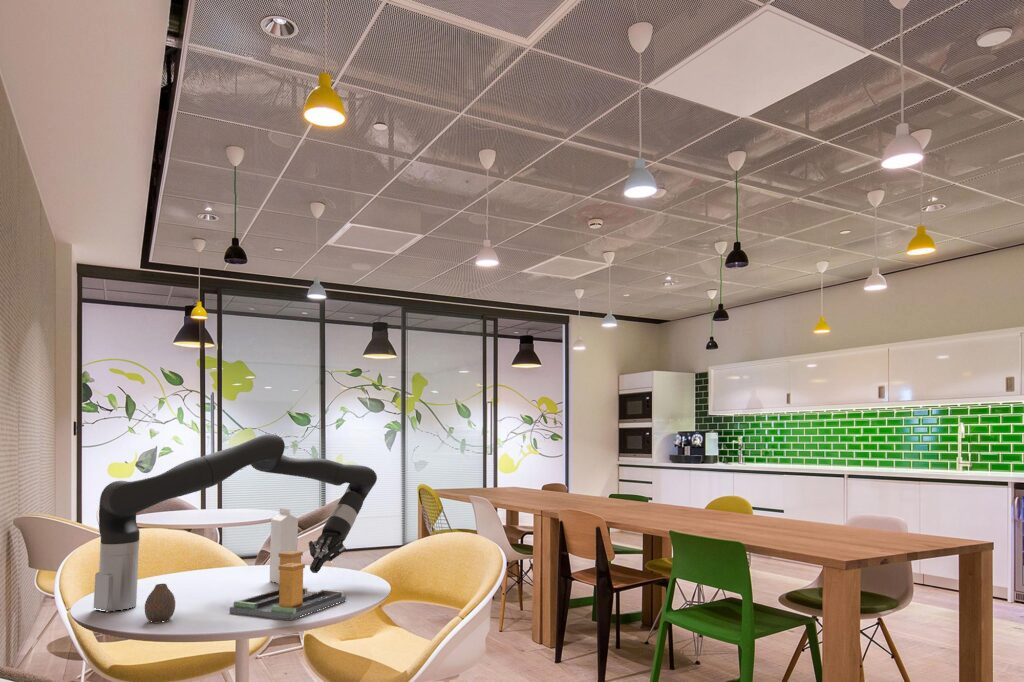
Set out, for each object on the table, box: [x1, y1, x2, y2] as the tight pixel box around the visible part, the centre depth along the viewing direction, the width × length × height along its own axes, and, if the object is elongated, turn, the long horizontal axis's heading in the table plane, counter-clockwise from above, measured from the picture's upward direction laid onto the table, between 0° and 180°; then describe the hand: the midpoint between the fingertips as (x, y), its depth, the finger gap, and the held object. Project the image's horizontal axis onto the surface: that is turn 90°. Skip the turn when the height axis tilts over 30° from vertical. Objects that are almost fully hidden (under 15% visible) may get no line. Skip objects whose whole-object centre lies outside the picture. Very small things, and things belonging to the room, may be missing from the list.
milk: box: [269, 507, 299, 584], centre depth 230 cm, size 6×6×22 cm
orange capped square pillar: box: [278, 550, 304, 594], centre depth 205 cm, size 5×5×11 cm
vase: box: [144, 583, 176, 623], centre depth 183 cm, size 7×7×9 cm
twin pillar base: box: [228, 563, 347, 622], centre depth 196 cm, size 22×20×12 cm
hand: (313, 571), depth 214 cm, fingers closed
